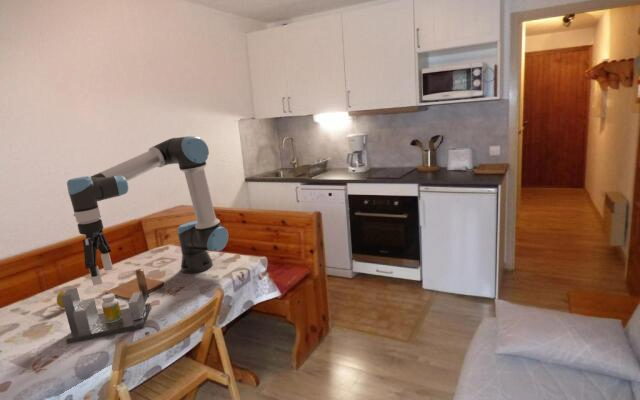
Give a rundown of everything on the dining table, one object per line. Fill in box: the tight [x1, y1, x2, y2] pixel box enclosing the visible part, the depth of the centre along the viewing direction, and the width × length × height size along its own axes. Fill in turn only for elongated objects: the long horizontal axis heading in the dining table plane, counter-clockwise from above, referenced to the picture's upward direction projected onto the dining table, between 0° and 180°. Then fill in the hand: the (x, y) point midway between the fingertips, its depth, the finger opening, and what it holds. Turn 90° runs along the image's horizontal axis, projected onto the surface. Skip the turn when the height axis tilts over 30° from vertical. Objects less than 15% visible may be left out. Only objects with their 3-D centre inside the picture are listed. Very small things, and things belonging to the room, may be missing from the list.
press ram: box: [127, 268, 150, 320], centre depth 152 cm, size 3×19×13 cm, turn 13°
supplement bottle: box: [101, 292, 122, 323], centre depth 146 cm, size 5×5×10 cm
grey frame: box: [61, 287, 152, 345], centre depth 145 cm, size 25×16×16 cm, turn 103°
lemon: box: [56, 290, 67, 309], centre depth 165 cm, size 6×6×8 cm
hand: (103, 276), depth 143 cm, fingers open, 13 cm apart
